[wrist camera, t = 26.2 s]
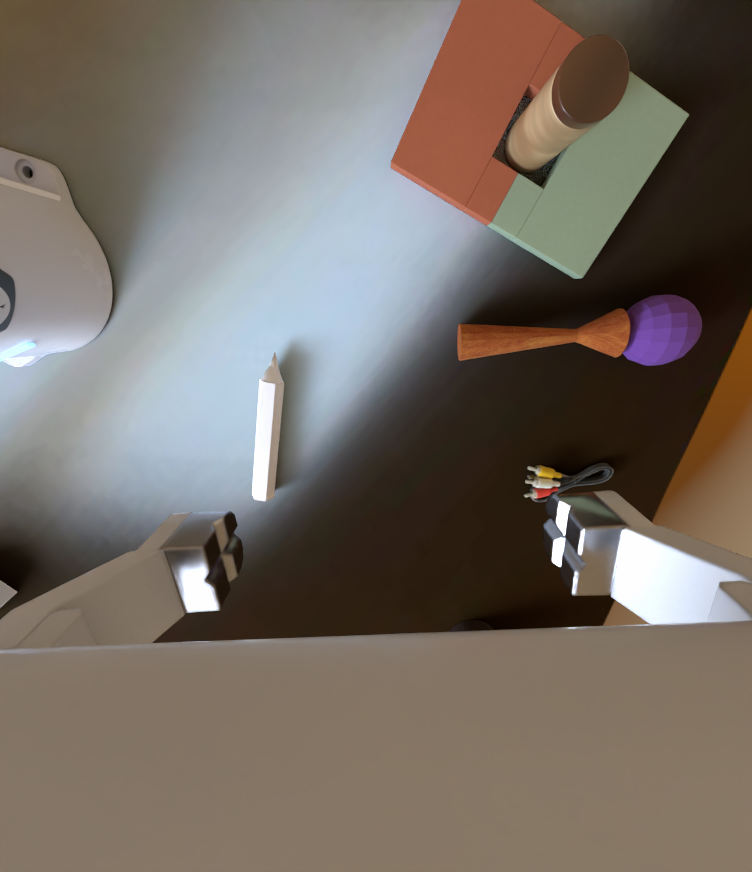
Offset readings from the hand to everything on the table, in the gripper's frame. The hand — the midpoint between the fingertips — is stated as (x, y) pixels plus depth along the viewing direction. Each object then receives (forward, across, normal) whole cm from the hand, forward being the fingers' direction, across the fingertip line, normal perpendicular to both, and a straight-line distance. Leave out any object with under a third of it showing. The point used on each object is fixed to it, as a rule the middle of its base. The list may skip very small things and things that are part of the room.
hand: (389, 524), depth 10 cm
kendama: (+29, -17, -1) cm, 34 cm away
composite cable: (+29, -19, +15) cm, 38 cm away
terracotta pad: (+29, -9, -18) cm, 36 cm away
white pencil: (+29, +12, +7) cm, 32 cm away
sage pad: (+29, -17, -14) cm, 36 cm away
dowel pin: (+29, -13, -16) cm, 36 cm away
